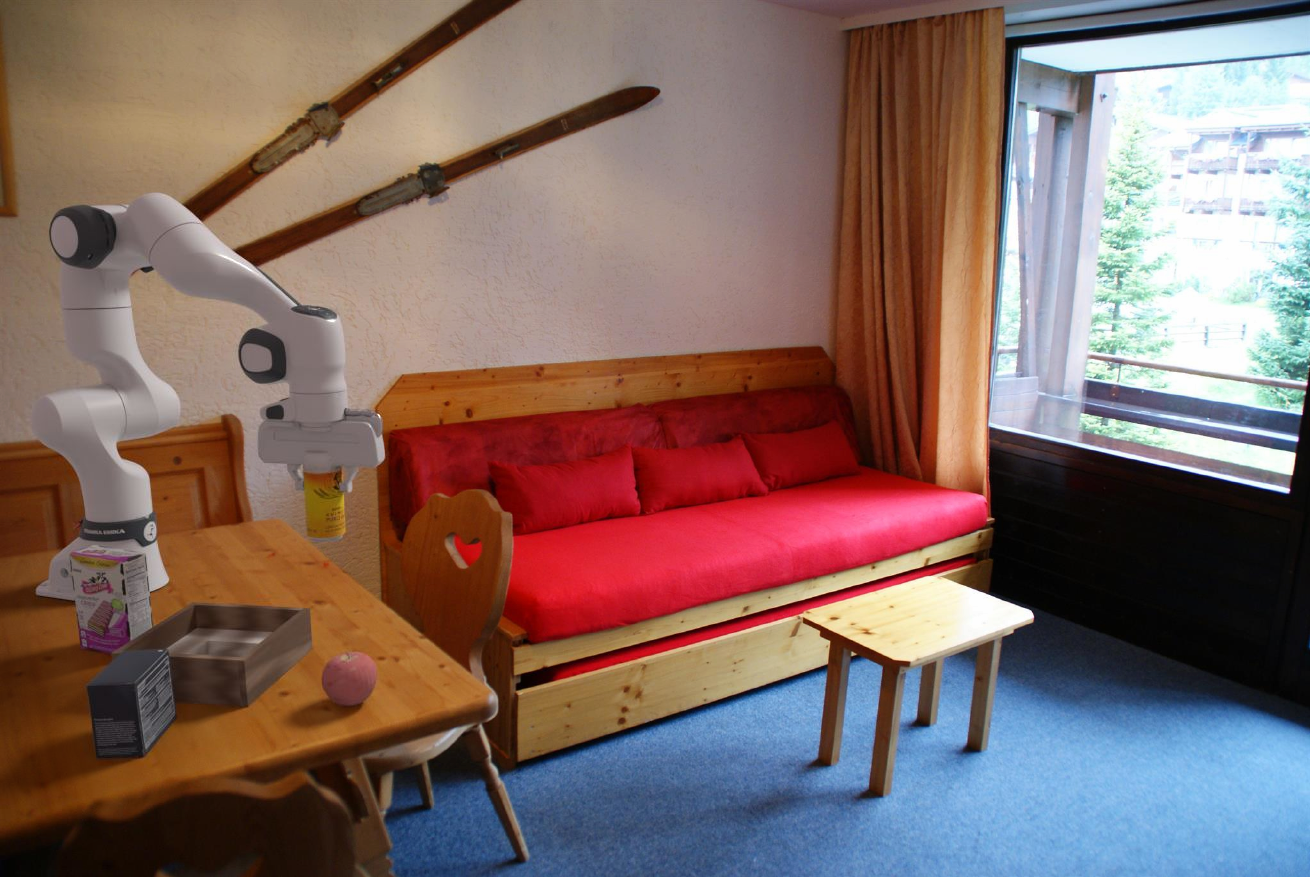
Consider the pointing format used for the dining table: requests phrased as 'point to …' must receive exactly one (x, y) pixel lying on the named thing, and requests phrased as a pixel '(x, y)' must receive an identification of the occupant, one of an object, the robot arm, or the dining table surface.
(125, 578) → the candy bar box
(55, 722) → the dining table surface
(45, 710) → the dining table surface
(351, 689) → the apple
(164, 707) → the small box
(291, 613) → the wooden box
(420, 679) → the dining table surface
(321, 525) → the beer can
